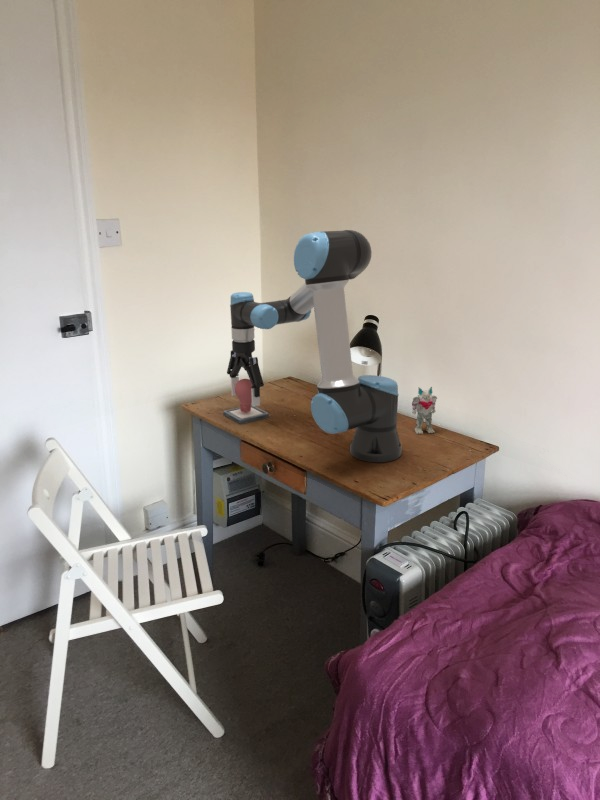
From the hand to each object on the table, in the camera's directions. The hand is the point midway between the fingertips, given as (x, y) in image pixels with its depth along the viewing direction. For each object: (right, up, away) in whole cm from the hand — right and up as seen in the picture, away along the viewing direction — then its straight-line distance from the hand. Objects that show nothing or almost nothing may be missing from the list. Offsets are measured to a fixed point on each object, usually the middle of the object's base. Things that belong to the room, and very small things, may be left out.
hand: (245, 400), depth 222 cm
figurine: (+58, -10, -13) cm, 61 cm away
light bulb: (0, -4, +1) cm, 4 cm away
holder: (0, -5, +2) cm, 6 cm away
